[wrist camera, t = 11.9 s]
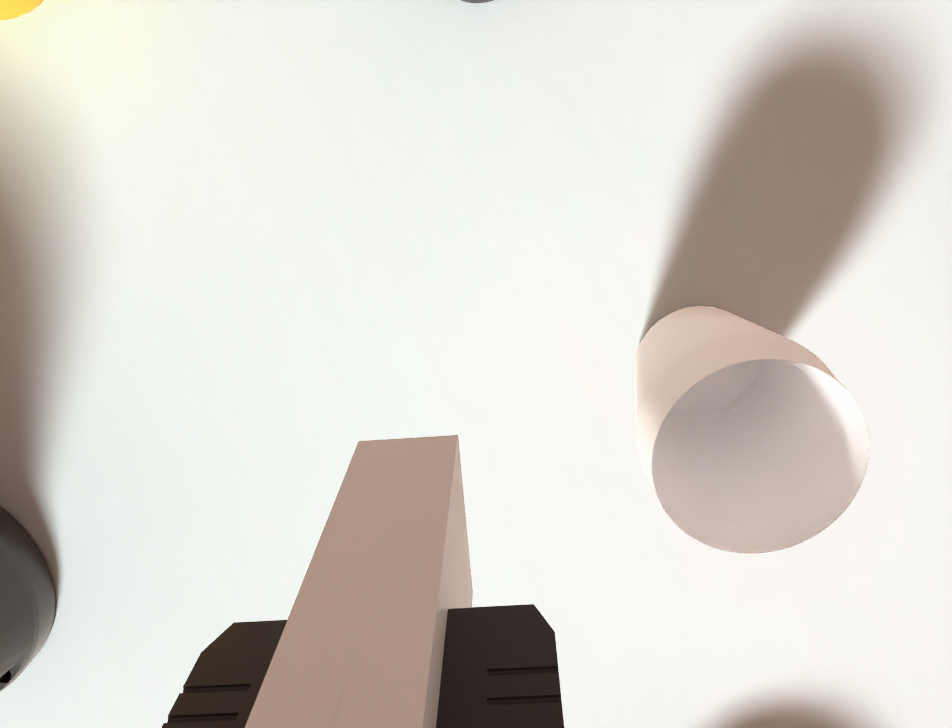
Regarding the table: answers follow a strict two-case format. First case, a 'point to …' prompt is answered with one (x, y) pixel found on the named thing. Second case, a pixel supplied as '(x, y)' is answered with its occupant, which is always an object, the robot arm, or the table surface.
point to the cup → (744, 432)
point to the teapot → (16, 7)
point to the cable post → (477, 1)
